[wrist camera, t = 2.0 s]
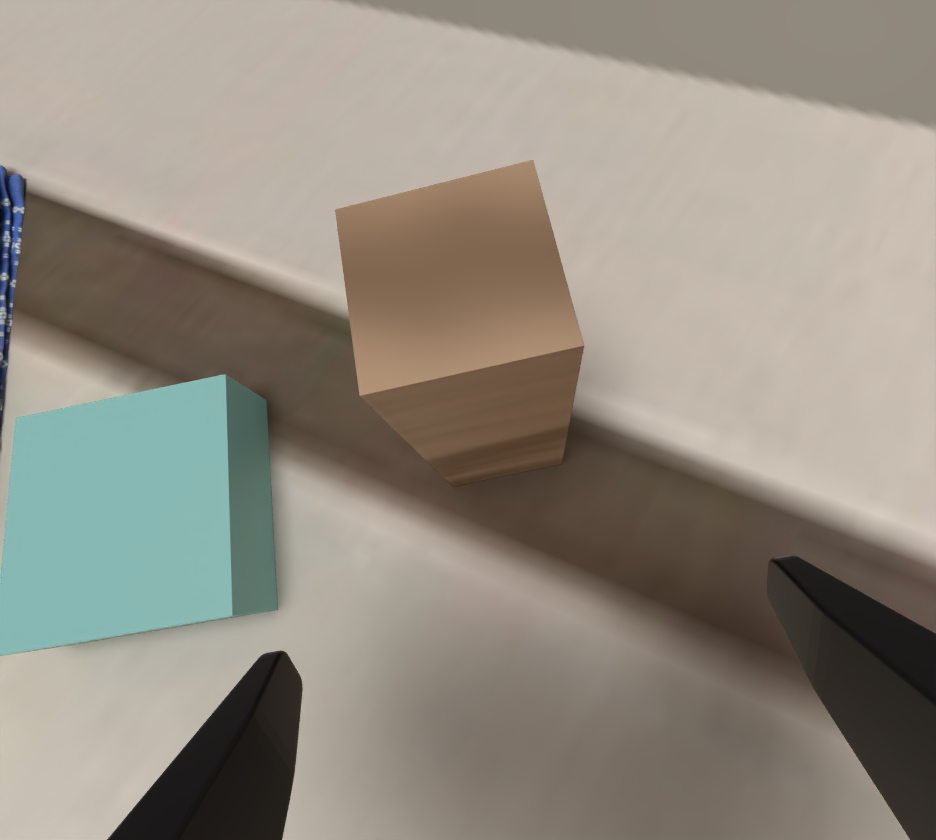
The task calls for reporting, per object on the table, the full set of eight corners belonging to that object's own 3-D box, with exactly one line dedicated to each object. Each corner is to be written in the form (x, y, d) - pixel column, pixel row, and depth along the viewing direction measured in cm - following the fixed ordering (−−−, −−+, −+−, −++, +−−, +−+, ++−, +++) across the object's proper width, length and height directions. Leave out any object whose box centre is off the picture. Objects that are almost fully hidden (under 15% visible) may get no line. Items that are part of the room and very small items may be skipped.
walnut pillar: (561, 464, 24) (584, 345, 11) (452, 486, 24) (359, 395, 12) (537, 362, 25) (533, 160, 13) (434, 385, 26) (335, 209, 13)
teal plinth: (281, 609, 24) (232, 615, 20) (76, 644, 25) (-8, 656, 21) (270, 402, 27) (225, 374, 23) (87, 439, 28) (15, 417, 24)
